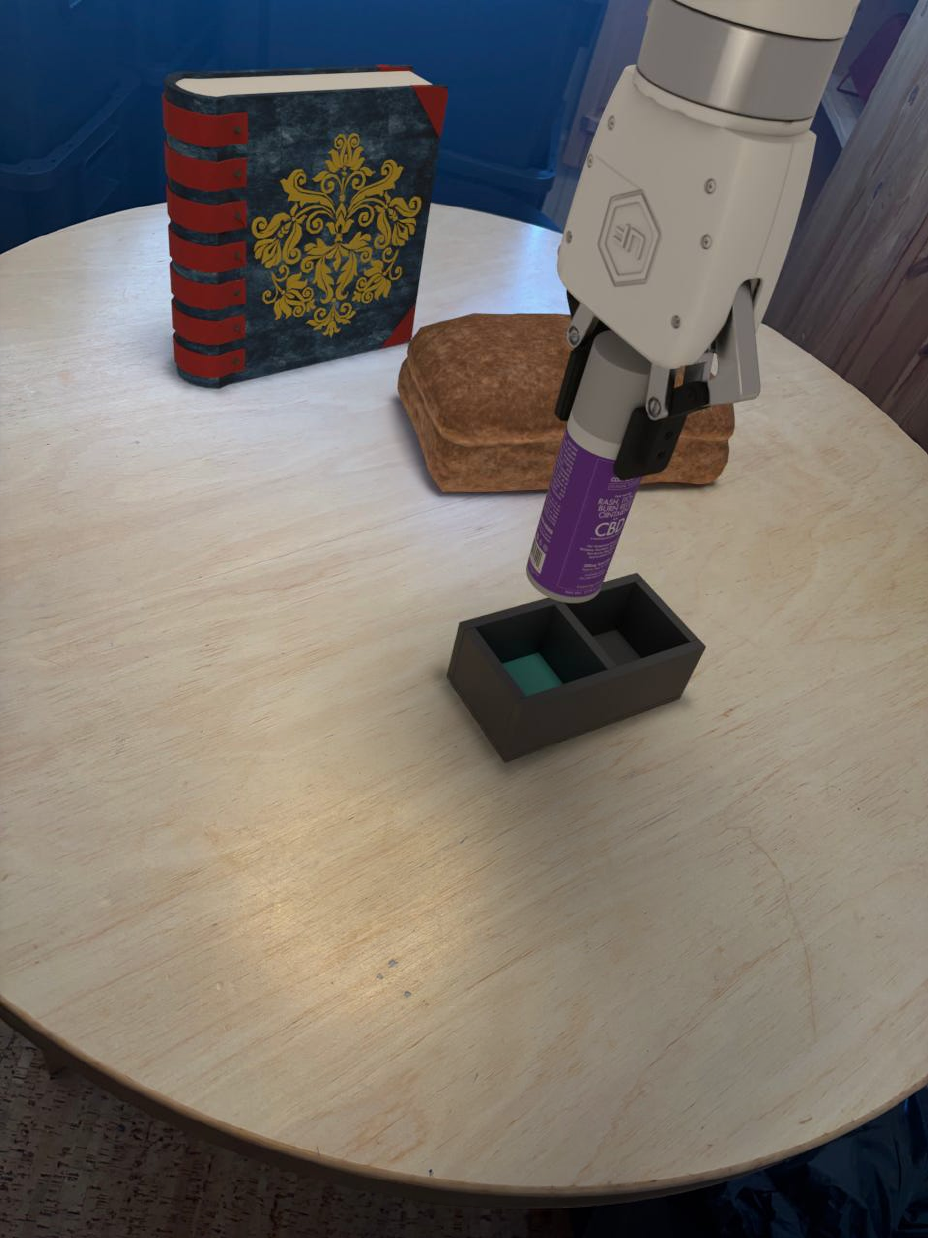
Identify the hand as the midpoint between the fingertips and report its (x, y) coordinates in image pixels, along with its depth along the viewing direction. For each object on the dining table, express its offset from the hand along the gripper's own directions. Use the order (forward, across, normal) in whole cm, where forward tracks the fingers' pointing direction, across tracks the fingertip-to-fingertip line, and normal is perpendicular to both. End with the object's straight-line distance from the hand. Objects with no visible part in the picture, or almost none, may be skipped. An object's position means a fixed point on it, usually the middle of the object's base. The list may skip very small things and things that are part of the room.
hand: (608, 440), depth 50 cm
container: (+10, 0, 0) cm, 10 cm away
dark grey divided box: (+23, -1, +4) cm, 23 cm away
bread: (+23, -28, +22) cm, 42 cm away
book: (+23, -49, +4) cm, 54 cm away
